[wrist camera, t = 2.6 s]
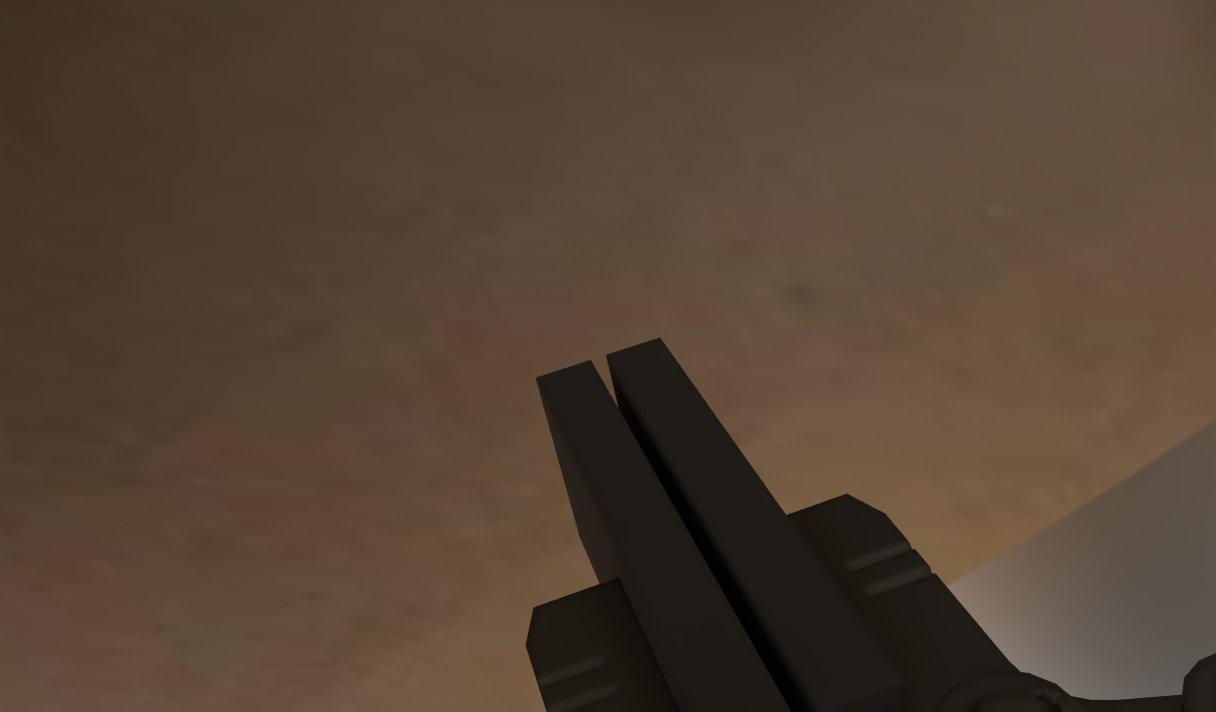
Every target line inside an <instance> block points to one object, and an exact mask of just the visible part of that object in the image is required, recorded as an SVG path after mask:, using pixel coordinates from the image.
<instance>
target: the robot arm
mask: <svg viewBox="0 0 1216 712" xmlns="http://www.w3.org/2000/svg"><path fill="white" fill-rule="evenodd" d="M606 357H607V361H608V365H609V370H610V374H611V378H612V382H613V386H614V391H615V395H616V399H617V403H618V407H617V405H616V404H615V402H614V400H613V398H612V397H611V395H610V393H609V391H608V390H607V388H606V386H605V384H604V383H603V381H602V379H601V377H600V376H599V374H598V372H597V370H596V368H595V367H594V365H593V363H592V361H591V360H589V361H586V362H583V363H580V364H577V365H574V366H571V367H568V368H564V369H561V370H558V371H555V372H552V373H549V374H546V375H543V376H540V377H537V378H536V381H537V384H538V388H539V392H540V395H541V399H542V402H543V406H544V410H545V413H546V417H547V420H548V424H549V428H550V431H551V435H552V438H553V442H554V446H555V449H556V453H557V457H558V460H559V464H560V467H561V471H562V475H563V478H564V482H565V485H566V489H567V493H568V496H569V500H570V503H571V507H572V511H573V514H574V518H575V521H576V525H577V529H578V532H579V536H580V539H581V541H582V543H583V546H584V548H585V550H586V553H587V555H588V557H589V560H590V562H591V564H592V567H593V569H594V571H595V574H596V576H597V578H598V581H599V583H600V584H599V585H596V586H593V587H590V588H587V589H584V590H582V591H579V592H576V593H573V594H570V595H567V596H565V597H562V598H559V599H556V600H553V601H550V602H548V603H545V604H542V605H539V606H536V607H534V608H533V613H532V618H531V622H530V627H529V632H528V637H527V641H526V648H527V651H528V654H529V658H530V661H531V664H532V667H533V670H534V673H535V677H536V680H537V683H538V686H539V689H540V692H541V696H542V699H543V702H544V705H545V708H546V711H547V712H1216V653H1215V654H1213V655H1211V656H1208V657H1206V658H1204V659H1201V660H1199V661H1198V662H1197V664H1196V665H1195V666H1194V667H1193V668H1192V670H1191V671H1190V672H1189V673H1188V674H1187V675H1186V676H1185V678H1184V684H1183V693H1182V695H1173V696H1160V697H1148V698H1136V699H1123V700H1089V699H1083V698H1078V697H1073V696H1070V695H1069V694H1068V693H1066V692H1065V691H1064V690H1063V689H1062V688H1060V687H1059V686H1058V685H1057V684H1055V683H1052V682H1050V681H1047V680H1045V679H1042V678H1040V677H1037V676H1035V675H1032V674H1030V673H1024V672H1020V671H1019V670H1018V669H1017V668H1016V667H1015V666H1014V665H1013V664H1011V662H1009V660H1008V659H1007V658H1006V657H1005V656H1004V654H1003V653H1002V652H1001V651H1000V650H999V649H998V647H997V646H996V645H995V644H994V643H993V642H992V640H991V639H990V638H989V637H988V636H987V634H986V633H985V632H984V631H983V629H982V628H981V627H980V626H979V625H978V624H977V622H976V621H975V620H974V619H973V618H972V616H971V615H970V614H969V613H968V612H967V611H966V609H965V608H964V607H963V606H962V605H961V603H960V602H959V601H958V600H957V599H956V597H955V596H954V595H953V594H952V593H951V592H950V590H949V589H948V588H947V587H946V585H945V584H944V583H943V582H942V581H941V580H940V578H939V577H938V576H937V575H936V574H933V573H932V572H931V569H930V566H929V565H928V564H927V563H926V562H925V560H924V559H923V558H922V557H921V556H920V555H919V553H918V552H917V551H916V550H915V549H913V550H912V548H911V546H910V543H909V541H908V540H907V539H906V538H905V537H904V536H903V534H902V533H901V532H900V531H899V530H898V528H897V527H896V526H895V525H894V524H893V522H892V521H891V520H890V519H889V518H888V516H887V515H886V514H885V513H883V512H881V511H879V510H877V509H875V508H873V507H871V506H869V505H868V504H866V503H864V502H862V501H860V500H858V499H856V498H854V497H852V496H850V495H848V494H845V495H842V496H839V497H836V498H833V499H830V500H828V501H825V502H822V503H819V504H816V505H814V506H811V507H808V508H805V509H802V510H799V511H797V512H794V513H791V514H788V515H786V514H785V513H784V511H783V510H782V509H781V507H780V506H779V504H778V503H777V502H776V500H775V499H774V497H773V496H772V494H771V493H770V492H769V490H768V489H767V487H766V486H765V485H764V483H763V482H762V480H761V479H760V478H759V476H758V475H757V473H756V472H755V471H754V469H753V468H752V466H751V465H750V463H749V462H748V461H747V459H746V458H745V456H744V455H743V454H742V452H741V451H740V449H739V448H738V447H737V445H736V444H735V442H734V441H733V440H732V438H731V437H730V435H729V434H728V432H727V431H726V430H725V428H724V427H723V425H722V424H721V423H720V421H719V420H718V418H717V417H716V416H715V414H714V413H713V411H712V410H711V409H710V407H709V406H708V404H707V403H706V402H705V400H704V399H703V397H702V396H701V394H700V393H699V392H698V390H697V389H696V387H695V386H694V385H693V383H692V382H691V380H690V379H689V378H688V376H687V375H686V373H685V372H684V371H683V369H682V368H681V366H680V365H679V363H678V362H677V361H676V359H675V358H674V356H673V355H672V354H671V352H670V351H669V349H668V348H667V347H666V345H665V344H664V342H663V341H662V340H661V338H657V339H654V340H651V341H648V342H645V343H641V344H638V345H635V346H632V347H629V348H626V349H623V350H620V351H617V352H614V353H611V354H608V355H606ZM618 408H619V409H618Z"/></svg>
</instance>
